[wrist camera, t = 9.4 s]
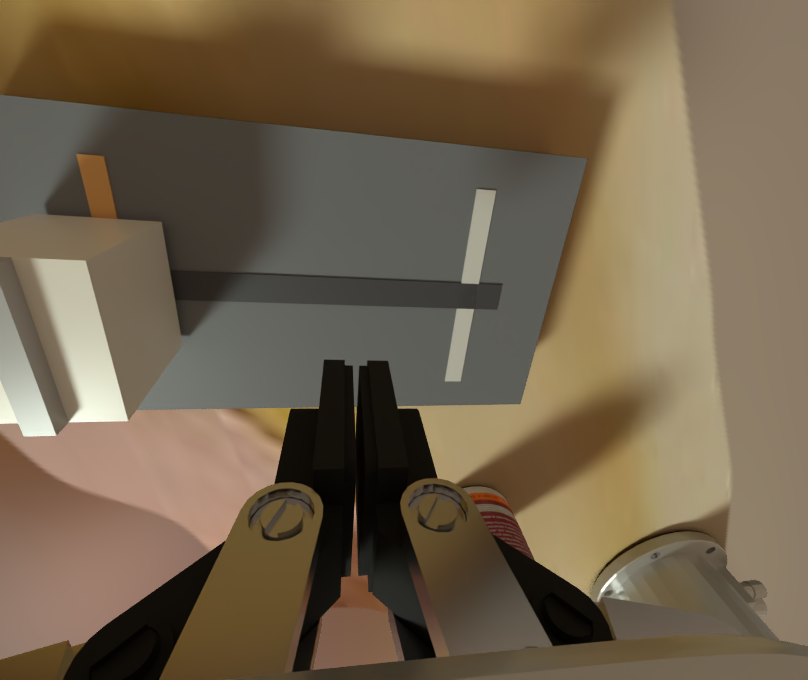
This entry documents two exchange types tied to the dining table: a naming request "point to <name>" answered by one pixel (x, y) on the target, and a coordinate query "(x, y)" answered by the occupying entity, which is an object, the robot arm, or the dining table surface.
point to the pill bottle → (499, 517)
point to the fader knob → (82, 319)
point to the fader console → (312, 247)
